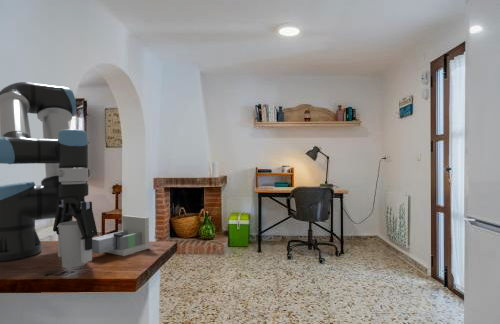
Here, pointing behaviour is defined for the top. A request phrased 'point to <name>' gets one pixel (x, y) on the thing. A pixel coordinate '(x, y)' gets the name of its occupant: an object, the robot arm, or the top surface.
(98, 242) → the grey rectangular slab
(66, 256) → the cup
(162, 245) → the top surface
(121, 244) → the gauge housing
